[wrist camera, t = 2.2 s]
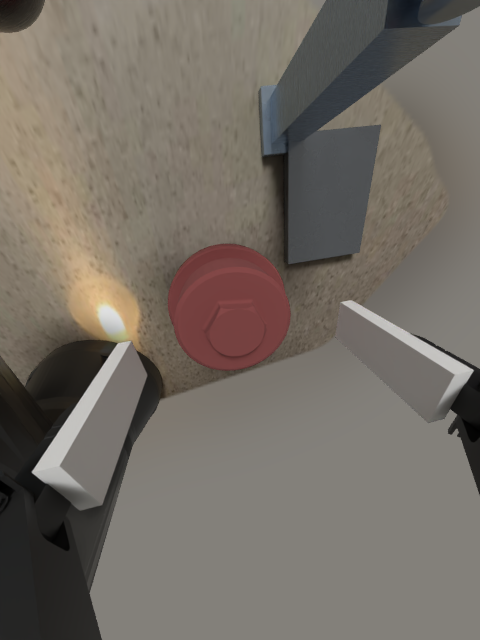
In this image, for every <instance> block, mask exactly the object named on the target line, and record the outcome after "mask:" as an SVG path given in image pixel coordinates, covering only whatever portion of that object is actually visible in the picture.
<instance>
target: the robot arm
mask: <svg viewBox="0 0 480 640" xmlns="http://www.w3.org/2000/svg"><path fill="white" fill-rule="evenodd" d="M335 338H336V339H338V340H339V341H340V342H341V343H342V344H343V345H344V346H345V347H346V348H347V349H348V350H350V351H351V352H352V353H353V354H354V355H355V356H356V357H357V358H358V359H359V360H360V361H362V363H364V364H365V365H366V366H367V367H368V368H369V369H370V370H371V371H372V372H373V373H375V374H376V375H377V376H378V377H379V378H380V379H381V380H382V381H383V382H384V383H385V384H386V385H387V386H389V387H390V388H391V389H392V390H393V391H394V392H395V393H396V394H397V395H398V396H399V397H400V398H401V399H403V400H404V401H405V402H406V403H407V404H408V405H409V406H410V407H411V408H412V409H414V411H416V412H417V413H418V414H419V415H420V416H421V417H422V418H423V419H424V420H425V421H426V422H428V423H430V422H434V421H437V420H442V419H444V418H445V417H446V415H447V413H448V412H449V410H450V409H451V410H452V411H454V412H455V413H456V414H457V417H456V418H455V420H454V421H453V423H452V424H451V426H450V427H449V429H448V434H452V433H453V432H454V431H455V429H458V431H459V434H458V435H457V436H458V437H461V440H462V443H463V446H464V449H465V452H466V455H467V458H468V461H469V464H470V467H471V470H472V473H473V476H474V479H475V482H476V485H477V488H478V491H479V494H480V369H479V368H477V367H475V366H474V365H472V364H470V363H468V362H466V361H465V360H463V359H461V358H459V357H457V356H455V355H454V354H452V353H450V352H448V351H445V350H444V349H443V348H441V347H439V346H436V345H435V344H434V343H432V342H430V341H428V340H427V339H425V338H422V337H420V336H417V335H413V334H410V333H408V332H406V331H404V330H402V329H401V328H399V327H397V326H396V325H394V324H392V323H390V322H388V321H387V320H385V319H383V318H382V317H380V316H378V315H376V314H375V313H373V312H371V311H369V310H368V309H366V308H364V307H362V306H361V305H359V304H357V303H355V302H354V301H352V300H350V301H345V302H340V308H339V315H338V322H337V329H336V337H335ZM161 391H162V379H161V376H160V373H159V371H158V370H157V368H156V367H155V365H154V364H153V363H152V362H151V361H150V360H149V359H148V358H147V357H145V356H144V355H143V354H141V353H140V352H138V351H136V350H135V347H134V345H133V343H132V341H127V342H122V343H114V342H109V341H101V340H86V341H78V342H73V343H69V344H66V345H64V346H61V347H59V348H57V349H56V350H54V351H53V352H51V353H50V354H49V355H48V356H47V357H46V358H45V359H43V360H42V361H41V362H40V363H39V364H38V365H37V366H36V367H35V368H34V370H33V371H32V372H31V374H30V375H29V378H28V380H27V383H26V386H25V387H24V386H23V384H22V383H21V382H20V381H19V379H18V378H17V377H16V375H15V374H14V373H13V372H12V370H11V369H10V368H9V366H8V365H7V364H6V363H5V361H4V360H3V359H2V357H1V356H0V640H102V639H101V635H100V631H99V627H98V623H97V620H96V616H95V612H94V609H93V605H92V601H91V598H90V594H89V593H90V590H91V586H92V583H93V580H94V576H95V572H96V569H97V566H98V562H99V559H100V555H101V552H102V548H103V545H104V542H105V538H106V535H107V531H108V528H109V525H110V521H111V517H112V514H113V511H114V507H115V504H116V501H117V497H118V494H119V490H120V487H121V483H122V480H123V476H124V473H125V470H126V466H127V463H128V459H129V456H130V452H131V449H132V446H133V444H134V442H135V441H136V439H137V438H138V436H139V434H140V433H141V432H142V430H143V428H144V427H145V425H146V424H147V422H148V420H149V419H150V417H151V416H152V414H153V413H154V412H155V410H156V408H157V406H158V403H159V400H160V396H161Z"/></svg>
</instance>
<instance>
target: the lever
mask: <svg viewBox="0 0 480 640" xmlns="http://www.w3.org/2000/svg"><path fill="white" fill-rule="evenodd" d="M44 2H45V0H0V32H4V33H13V32H19V31H21V30H24V29H26V28H28V27H29V26H31V25H32V24H33V23H34V22H35V21H36V19H37V18H38V16H39V15H40V13H41V11H42V8H43V6H44ZM479 6H480V0H421V2H420V7H419V12H418V20H419V22H420V23H422V24H437V23H441V22H445V21H448V20H451V19H453V18H456V17H458V16H461V15H463V14H465V13H467V12H469V11H471V10H473V9H475V8H477V7H479Z"/></svg>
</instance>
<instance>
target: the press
mask: <svg viewBox="0 0 480 640" xmlns="http://www.w3.org/2000/svg"><path fill="white" fill-rule="evenodd" d="M420 2H421V0H326V1H325V3H324V5H323V7H322V8H321V10H320V12H319V13H318V15H317V17H316V19H315V20H314V22H313V24H312V26H311V27H310V29H309V31H308V32H307V34H306V36H305V38H304V39H303V41H302V43H301V45H300V46H299V48H298V50H297V51H296V53H295V55H294V57H293V58H292V60H291V62H290V64H289V65H288V67H287V69H286V70H285V72H284V74H283V76H282V77H281V79H280V81H279V83H278V84H277V85H271V86H261V87H260V90H259V110H260V130H261V151H262V157H268V156H277V155H284V252H285V263H287V264H293V263H299V262H305V261H311V260H317V259H323V258H329V257H335V256H341V255H347V254H354V253H359V251H360V245H361V240H362V234H363V228H364V222H365V216H366V210H367V204H368V198H369V193H370V187H371V181H372V175H373V169H374V163H375V157H376V152H377V146H378V140H379V134H380V128H381V125H373V126H363V127H353V128H343V129H333V130H323V131H317V130H318V129H319V128H321V127H322V126H324V125H325V124H326V123H328V122H329V121H330V120H332V119H333V118H334V117H336V116H337V115H338V114H340V113H341V112H343V111H344V110H345V109H347V108H348V107H349V106H351V105H352V104H353V103H355V102H356V101H357V100H359V99H360V98H361V97H363V96H364V95H366V94H367V93H368V92H370V91H371V90H372V89H374V88H375V87H376V86H378V85H379V84H380V83H382V82H383V81H384V80H386V79H387V78H388V77H390V76H391V75H392V74H394V73H395V72H396V71H398V70H399V69H401V68H402V67H403V66H405V65H406V64H408V63H409V62H410V61H412V60H413V59H414V58H416V57H417V56H418V55H420V54H421V53H422V52H424V51H425V50H427V49H428V48H429V47H431V46H432V45H433V44H435V43H436V42H437V41H438V40H440V39H441V38H443V37H444V36H445V35H447V34H448V33H450V32H451V31H452V30H454V29H455V28H456V27H458V26H459V25H460V21H461V17H462V15H461V16H458V17H456V18H453V19H451V20H448V21H445V22H441V23H437V24H422V23H420V22H419V20H418V12H419V7H420Z"/></svg>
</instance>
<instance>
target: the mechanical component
mask: <svg viewBox="0 0 480 640" xmlns="http://www.w3.org/2000/svg"><path fill="white" fill-rule="evenodd" d="M168 310H169V316H170V319H171V321H172V324H173V326H174V330H175V334H176V338H177V340H178V342H179V344H180V346H181V347H182V349H183V350H184V352H185V353H186V354H187V355H188V356H189V357H190V358H192V359H193V360H194V361H196V362H197V363H199V364H201V365H203V366H206V367H208V368H211V369H216V370H225V371H230V370H239V369H244V368H248V367H251V366H253V365H255V364H258V363H260V362H261V361H263V360H265V359H266V358H267V357H269V356H270V355H271V354H272V353H273V352H274V351H275V350H276V349H277V348H278V347H279V346H280V344H281V343H282V341H283V340H284V338H285V336H286V334H287V331H288V328H289V324H290V315H291V313H290V305H289V302H288V298H287V296H286V294H285V289H284V284H283V282H282V279H281V276H280V275H279V273H278V271H277V270H276V268H275V267H274V266H273V264H272V263H271V262H270V261H269V260H268V259H266V258H265V257H264V256H262V255H261V254H259V253H258V252H256V251H254V250H253V249H250V248H248V247H245V246H241V245H237V244H218V245H213V246H209V247H207V248H204V249H202V250H200V251H198V252H196V253H195V254H193V255H192V256H191V257H189V258H188V259H187V260H186V261H185V262H184V263H183V264H182V265H181V267H180V268H179V270H178V271H177V273H176V275H175V277H174V279H173V281H172V284H171V287H170V290H169V295H168Z"/></svg>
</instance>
